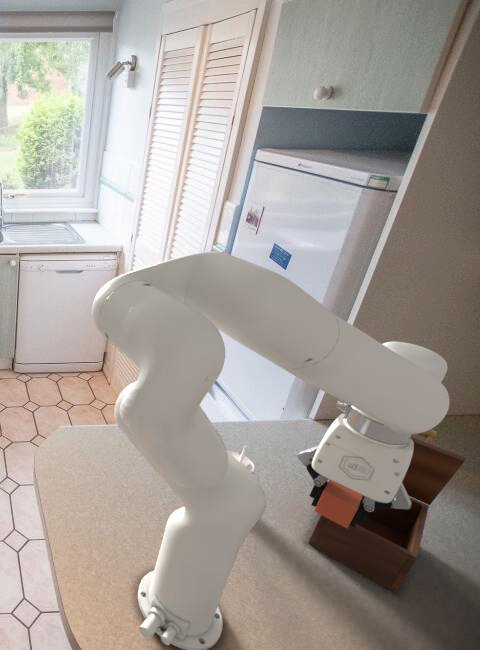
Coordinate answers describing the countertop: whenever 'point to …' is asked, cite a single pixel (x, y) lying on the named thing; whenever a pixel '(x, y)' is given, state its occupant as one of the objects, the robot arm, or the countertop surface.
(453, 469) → the lid
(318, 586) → the countertop surface
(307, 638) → the countertop surface
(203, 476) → the robot arm
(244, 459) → the smoothie
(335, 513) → the block
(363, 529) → the chest
